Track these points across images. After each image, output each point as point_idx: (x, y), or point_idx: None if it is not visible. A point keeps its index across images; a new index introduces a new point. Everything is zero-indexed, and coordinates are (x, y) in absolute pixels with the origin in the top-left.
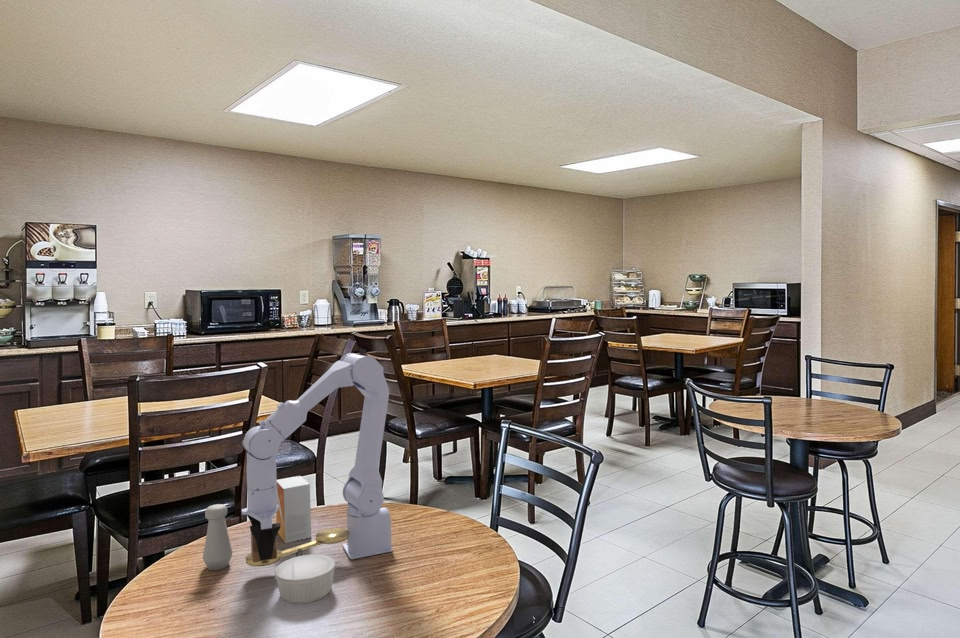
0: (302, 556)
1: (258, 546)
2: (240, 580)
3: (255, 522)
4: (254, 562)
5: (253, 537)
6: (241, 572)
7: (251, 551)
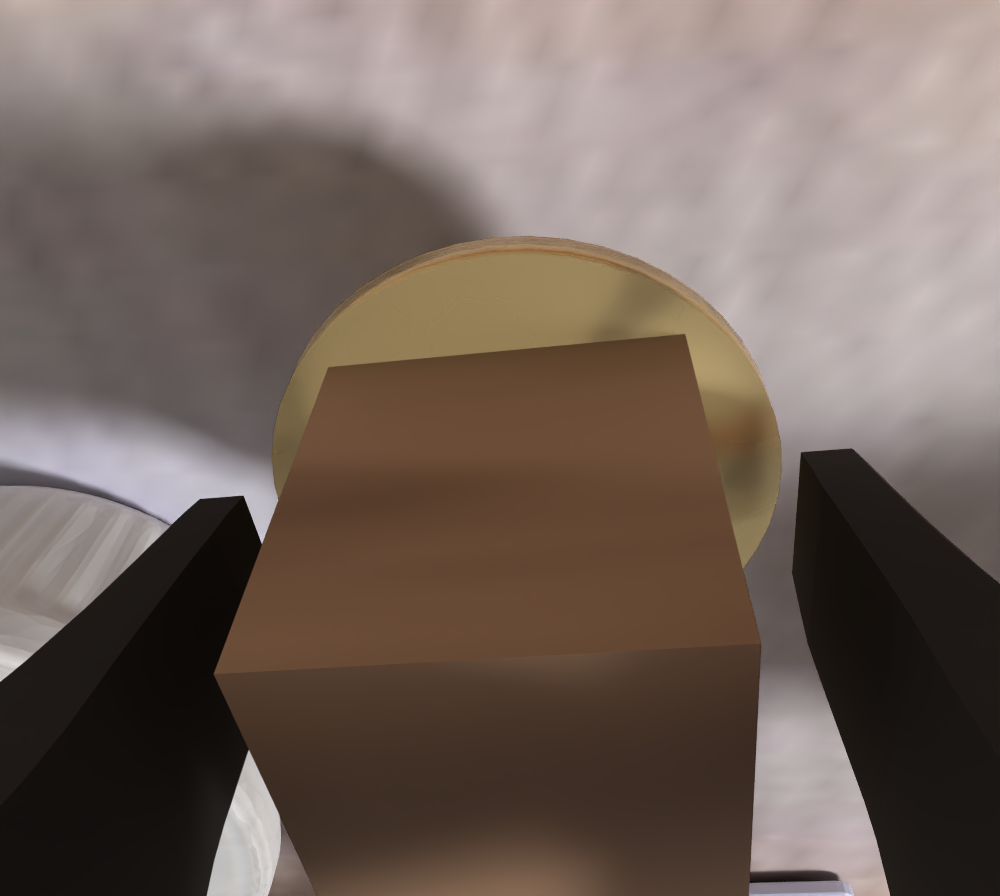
0: (228, 840)
1: (35, 667)
2: (491, 68)
3: (972, 820)
4: (321, 381)
5: (233, 687)
6: (749, 67)
7: (663, 361)
